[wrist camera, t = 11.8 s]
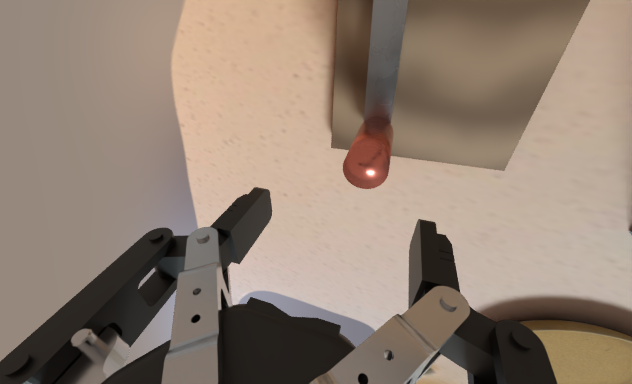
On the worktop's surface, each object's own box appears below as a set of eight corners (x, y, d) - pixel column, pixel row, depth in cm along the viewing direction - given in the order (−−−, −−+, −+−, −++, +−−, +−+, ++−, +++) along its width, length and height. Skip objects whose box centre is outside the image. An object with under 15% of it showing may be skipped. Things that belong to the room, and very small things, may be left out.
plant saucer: (721, 331, 28) (753, 363, 26) (615, 410, 41) (629, 436, 38) (477, 293, 36) (483, 314, 33) (451, 369, 49) (454, 389, 46)
